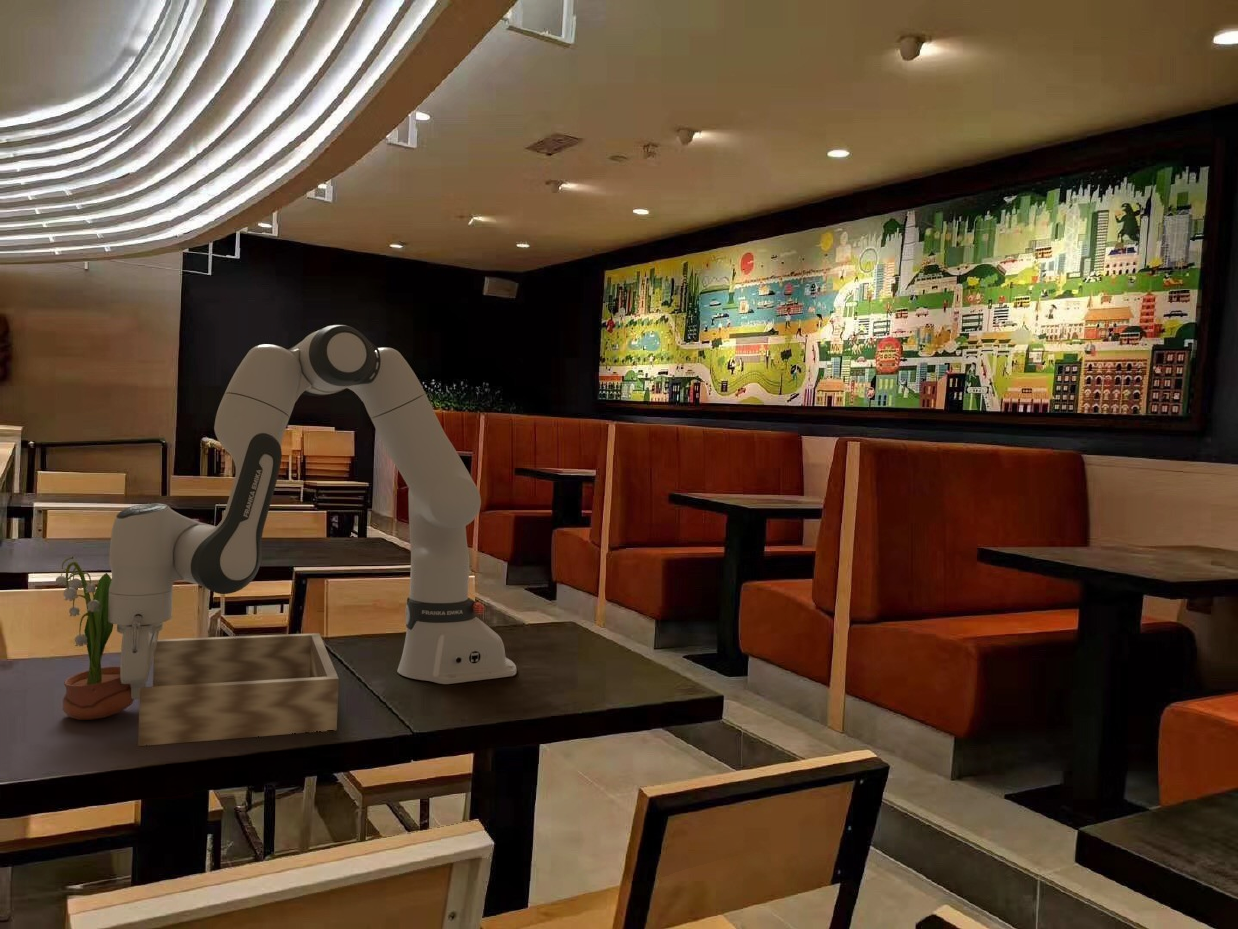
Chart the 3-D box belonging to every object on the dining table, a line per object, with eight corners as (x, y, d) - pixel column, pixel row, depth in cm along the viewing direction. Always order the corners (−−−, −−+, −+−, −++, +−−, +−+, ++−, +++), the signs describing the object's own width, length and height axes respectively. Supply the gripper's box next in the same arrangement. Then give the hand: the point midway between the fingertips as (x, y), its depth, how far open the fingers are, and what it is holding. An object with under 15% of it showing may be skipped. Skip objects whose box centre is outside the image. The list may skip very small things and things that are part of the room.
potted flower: (114, 726, 135) (93, 560, 132) (43, 732, 135) (20, 565, 132) (148, 696, 147) (129, 544, 144) (83, 702, 146) (63, 548, 143)
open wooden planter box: (317, 676, 169) (319, 633, 168) (336, 730, 140) (338, 678, 140) (153, 685, 158) (154, 639, 158) (138, 746, 130) (139, 690, 129)
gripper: (159, 622, 134) (156, 715, 135) (166, 595, 153) (164, 677, 154) (110, 624, 132) (107, 719, 132) (123, 597, 150) (121, 680, 151)
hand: (138, 696), depth 143 cm, fingers closed, pressing on potted flower
